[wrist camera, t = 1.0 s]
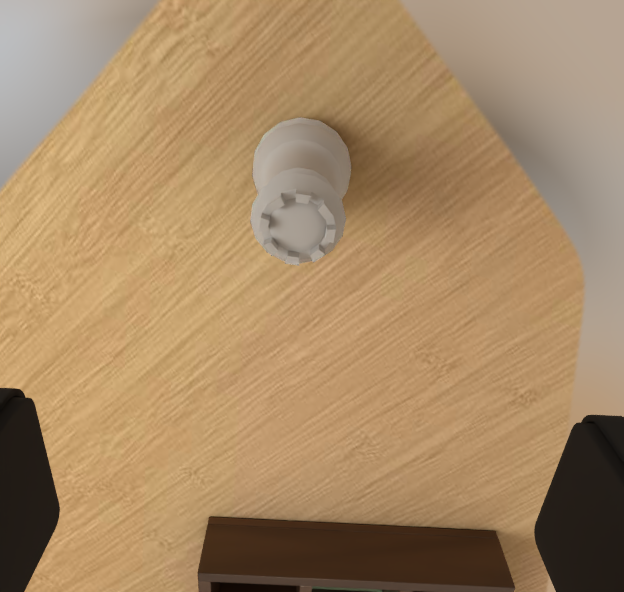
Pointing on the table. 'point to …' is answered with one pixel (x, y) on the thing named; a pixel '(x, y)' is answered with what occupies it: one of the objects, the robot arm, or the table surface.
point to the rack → (348, 558)
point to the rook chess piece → (300, 190)
